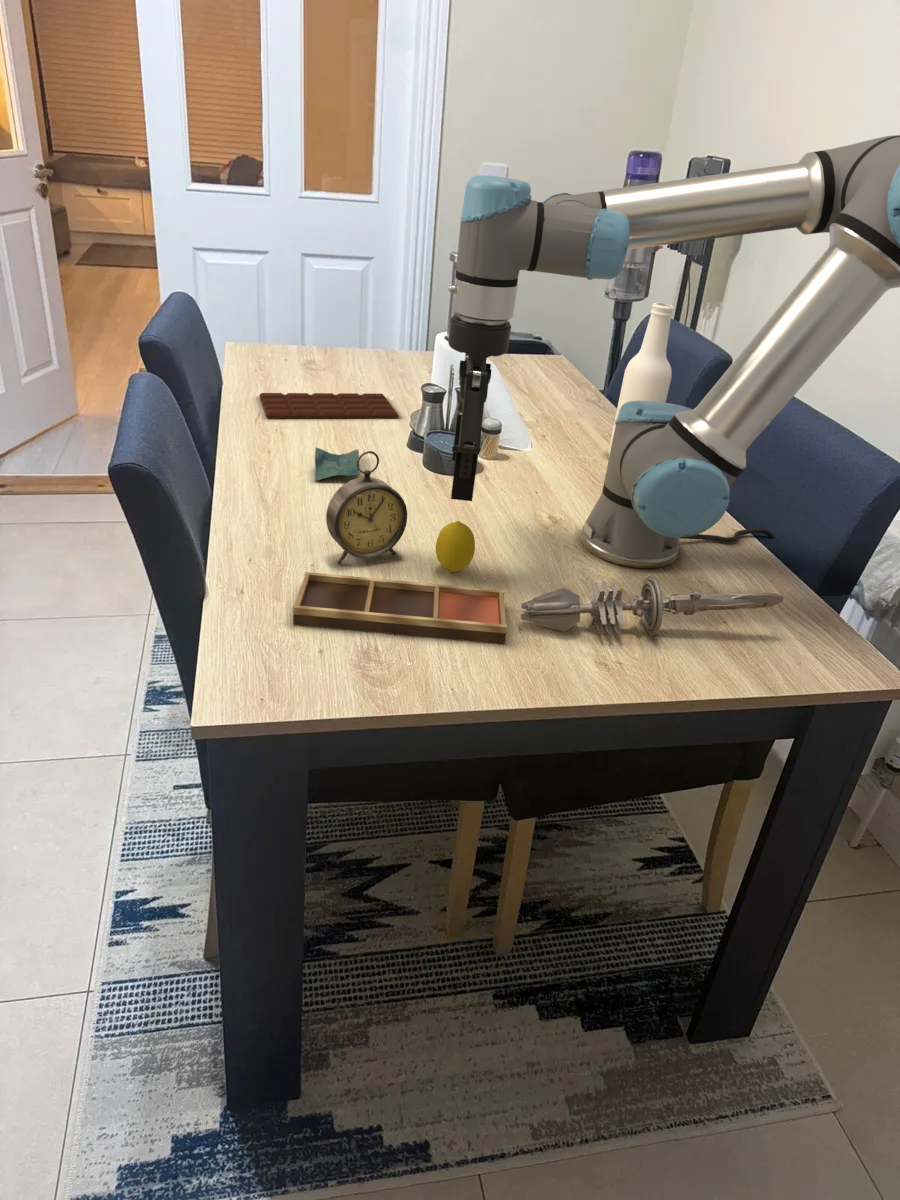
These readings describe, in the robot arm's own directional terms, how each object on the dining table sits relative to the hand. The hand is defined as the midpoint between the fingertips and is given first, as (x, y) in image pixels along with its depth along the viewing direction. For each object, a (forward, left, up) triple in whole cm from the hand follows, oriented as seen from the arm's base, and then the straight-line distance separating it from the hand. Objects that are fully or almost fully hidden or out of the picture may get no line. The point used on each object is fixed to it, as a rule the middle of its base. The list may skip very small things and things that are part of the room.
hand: (461, 479), depth 114 cm
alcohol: (-35, -54, -15) cm, 66 cm away
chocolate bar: (+27, -67, -14) cm, 74 cm away
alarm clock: (+13, -2, -15) cm, 19 cm away
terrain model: (+21, -34, -15) cm, 42 cm away
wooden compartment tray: (+6, +13, -14) cm, 20 cm away
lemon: (0, 0, -15) cm, 15 cm away
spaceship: (-26, +11, -15) cm, 32 cm away
